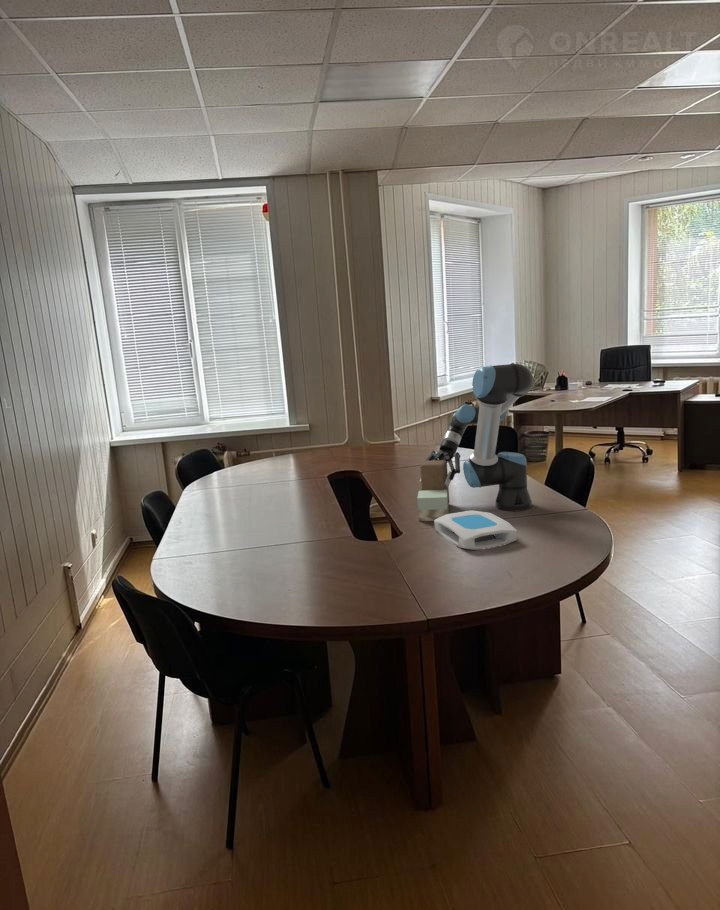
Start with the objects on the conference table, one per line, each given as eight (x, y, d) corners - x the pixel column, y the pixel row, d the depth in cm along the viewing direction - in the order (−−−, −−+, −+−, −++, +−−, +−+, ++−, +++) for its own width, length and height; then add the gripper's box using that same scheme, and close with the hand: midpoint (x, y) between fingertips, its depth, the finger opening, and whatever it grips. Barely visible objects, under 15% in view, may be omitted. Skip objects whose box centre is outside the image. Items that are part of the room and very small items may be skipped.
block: (445, 510, 285) (442, 464, 281) (422, 509, 288) (419, 465, 285) (449, 503, 294) (447, 459, 290) (427, 503, 298) (424, 460, 294)
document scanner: (465, 553, 233) (464, 536, 232) (434, 531, 259) (433, 515, 258) (518, 543, 238) (518, 527, 237) (482, 523, 265) (482, 508, 264)
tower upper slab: (447, 501, 282) (447, 489, 281) (447, 509, 270) (446, 497, 269) (419, 502, 284) (418, 490, 283) (417, 510, 272) (417, 498, 271)
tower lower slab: (448, 512, 283) (447, 501, 282) (448, 520, 271) (447, 509, 270) (420, 513, 285) (419, 502, 284) (418, 521, 273) (417, 509, 272)
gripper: (477, 449, 292) (461, 491, 283) (431, 446, 307) (414, 486, 299) (470, 440, 287) (454, 482, 278) (423, 437, 302) (406, 477, 294)
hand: (433, 484), depth 289 cm, fingers closed on block, 12 cm apart
